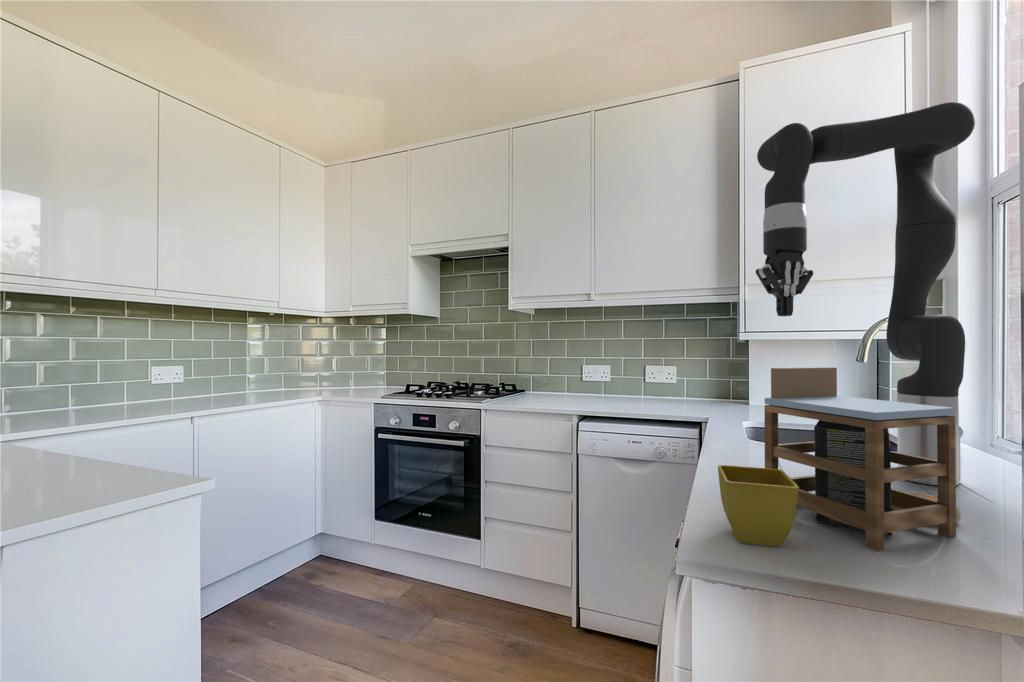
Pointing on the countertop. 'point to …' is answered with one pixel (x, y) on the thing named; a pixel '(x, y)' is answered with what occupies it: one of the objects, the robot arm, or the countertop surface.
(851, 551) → the countertop surface
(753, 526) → the flower pot
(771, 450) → the crate
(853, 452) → the tampon box
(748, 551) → the countertop surface
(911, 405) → the lid
